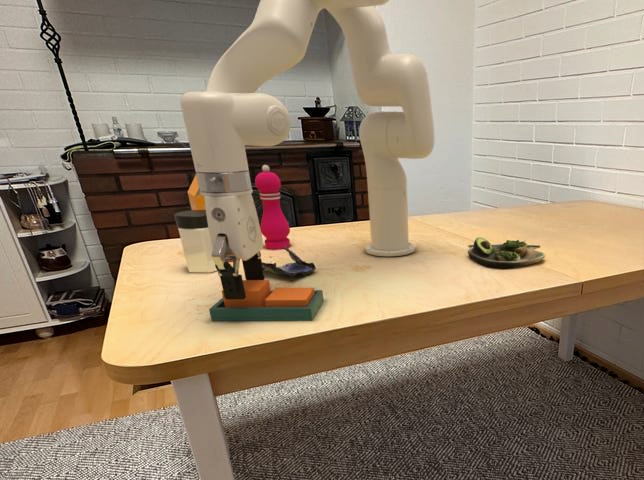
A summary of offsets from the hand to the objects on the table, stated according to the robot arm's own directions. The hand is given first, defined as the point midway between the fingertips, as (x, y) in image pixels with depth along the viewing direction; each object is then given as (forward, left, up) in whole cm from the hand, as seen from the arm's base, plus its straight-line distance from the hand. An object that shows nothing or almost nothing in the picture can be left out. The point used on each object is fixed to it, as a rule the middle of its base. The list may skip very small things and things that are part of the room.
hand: (246, 289), depth 80 cm
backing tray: (0, +4, -4) cm, 5 cm away
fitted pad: (0, +7, -4) cm, 8 cm away
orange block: (0, 0, -3) cm, 3 cm away
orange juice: (-40, -20, -4) cm, 45 cm away
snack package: (-22, 0, -4) cm, 22 cm away
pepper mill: (-47, -8, -4) cm, 48 cm away
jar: (-27, -18, -4) cm, 33 cm away
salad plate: (-34, +50, -4) cm, 60 cm away
